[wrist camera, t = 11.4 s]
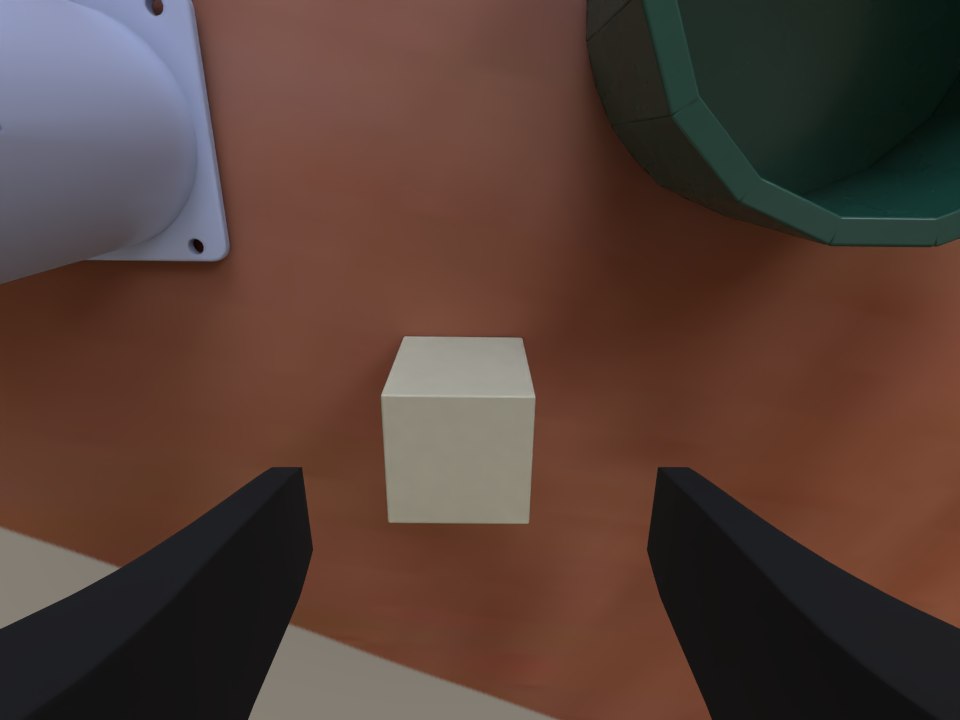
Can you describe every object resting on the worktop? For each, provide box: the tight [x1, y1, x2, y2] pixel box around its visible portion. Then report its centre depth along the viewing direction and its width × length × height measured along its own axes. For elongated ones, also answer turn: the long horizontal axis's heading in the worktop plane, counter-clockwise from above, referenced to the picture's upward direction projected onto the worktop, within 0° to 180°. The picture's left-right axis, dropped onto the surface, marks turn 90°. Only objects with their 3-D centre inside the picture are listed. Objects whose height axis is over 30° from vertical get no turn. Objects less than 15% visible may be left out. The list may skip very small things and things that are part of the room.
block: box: [381, 336, 536, 524], centre depth 19 cm, size 4×4×5 cm
